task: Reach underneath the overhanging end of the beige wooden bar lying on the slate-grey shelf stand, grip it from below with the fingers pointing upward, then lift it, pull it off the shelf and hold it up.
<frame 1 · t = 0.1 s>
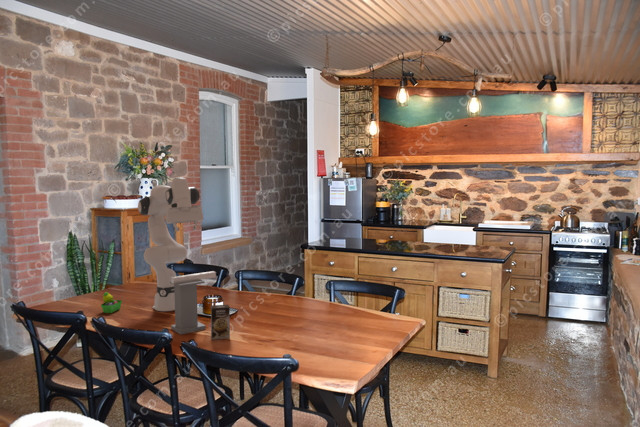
hand: (186, 230, 270), 52 cm above the table, tool tilted 20°, fingers open, 8 cm apart
fruit basket: (110, 311, 301), on the table
shelf stand: (188, 329, 266), on the table
coffee box: (220, 337, 253), on the table
beige wooden bar: (194, 280, 266), point 26 cm above the table, touching shelf stand
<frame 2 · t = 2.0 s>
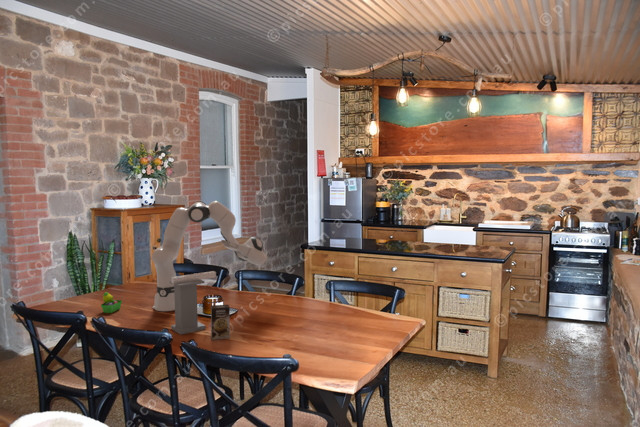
hand: (225, 241, 291), 43 cm above the table, tool pointing upward, fingers open, 8 cm apart
nothing on the table moved.
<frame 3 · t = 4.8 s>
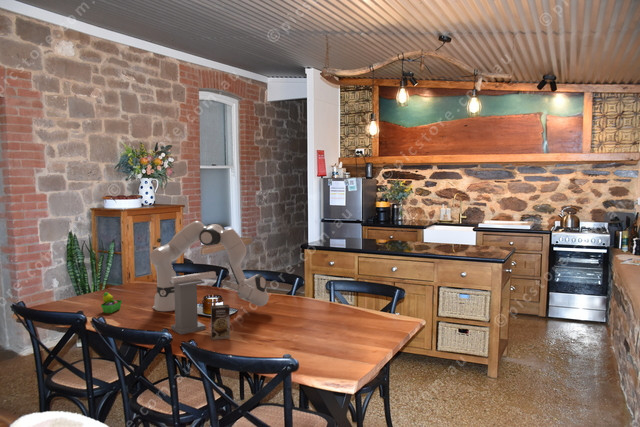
hand: (226, 282, 279), 22 cm above the table, tool pointing upward, fingers open, 8 cm apart
nothing on the table moved.
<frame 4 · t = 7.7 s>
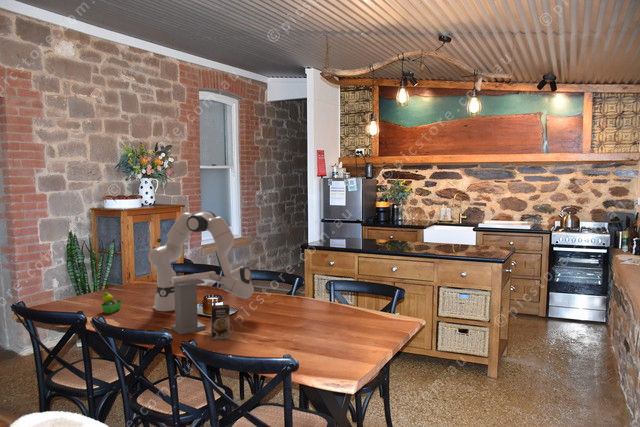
hand: (209, 274, 272), 28 cm above the table, tool pointing upward, fingers closed on beige wooden bar, 3 cm apart
beige wooden bar: (194, 280, 266), point 26 cm above the table, touching gripper, shelf stand
everything else where it was.
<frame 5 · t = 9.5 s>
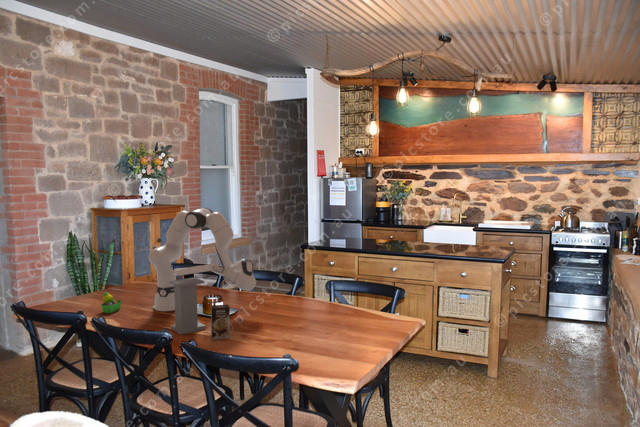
hand: (211, 266, 272), 32 cm above the table, tool pointing upward, fingers closed on beige wooden bar, 3 cm apart
beige wooden bar: (196, 272, 267), point 30 cm above the table, touching gripper
everything else where it was.
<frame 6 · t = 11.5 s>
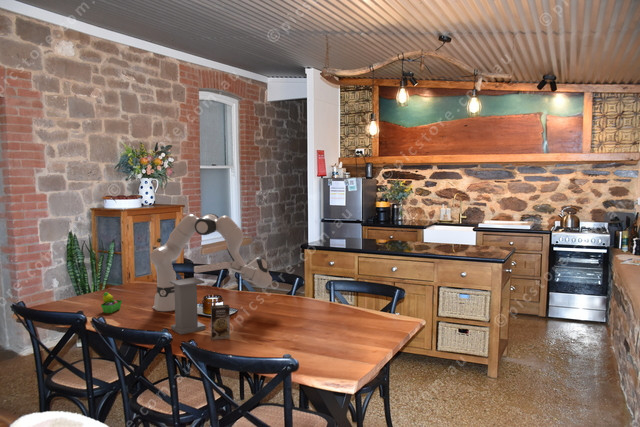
hand: (229, 263, 279), 32 cm above the table, tool pointing upward, fingers closed on beige wooden bar, 3 cm apart
beige wooden bar: (215, 269, 274), point 30 cm above the table, touching gripper
everything else where it was.
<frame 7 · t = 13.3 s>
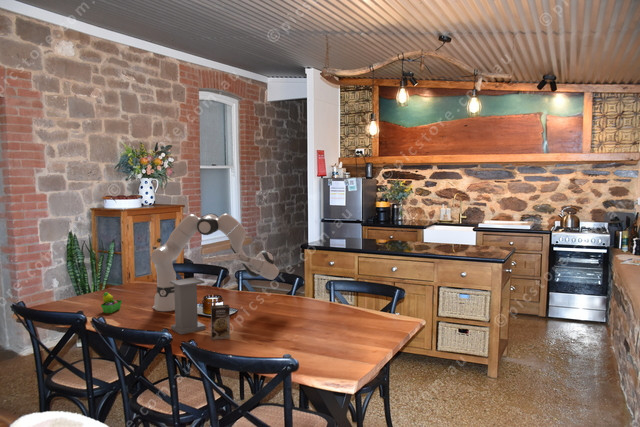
hand: (237, 255, 282), 36 cm above the table, tool pointing upward, fingers closed on beige wooden bar, 3 cm apart
beige wooden bar: (224, 260, 277), point 34 cm above the table, touching gripper
everything else where it was.
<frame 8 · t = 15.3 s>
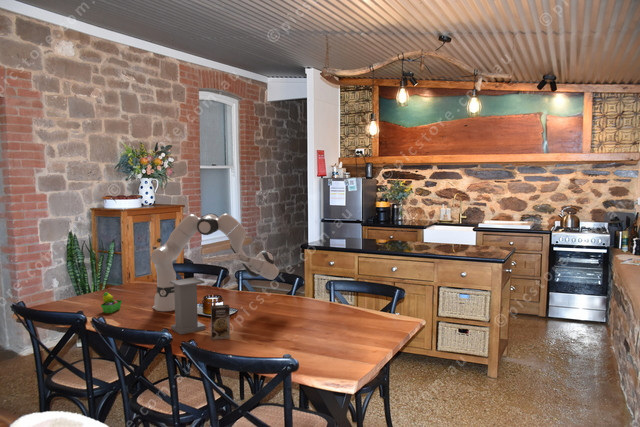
hand: (237, 255, 282), 36 cm above the table, tool pointing upward, fingers closed on beige wooden bar, 3 cm apart
beige wooden bar: (224, 260, 277), point 34 cm above the table, touching gripper
everything else where it was.
at the end: the gripper is holding beige wooden bar; beige wooden bar touching gripper; beige wooden bar moved 19.8 cm from its start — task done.
